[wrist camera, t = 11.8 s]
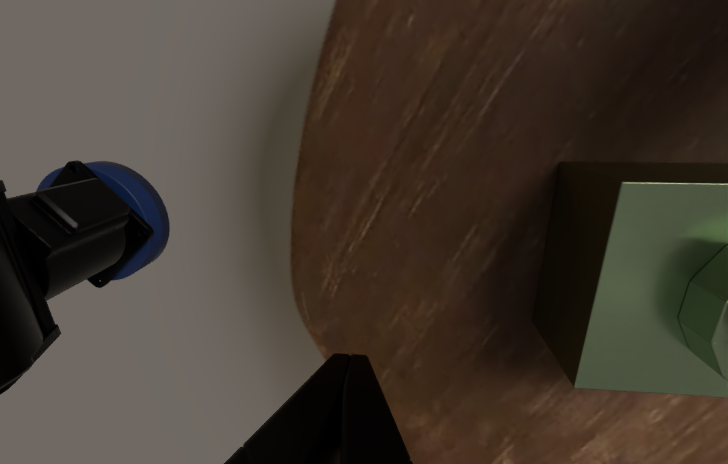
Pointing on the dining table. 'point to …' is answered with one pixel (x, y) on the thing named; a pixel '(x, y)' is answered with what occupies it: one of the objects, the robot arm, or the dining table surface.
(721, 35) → the dining table surface
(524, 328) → the dining table surface
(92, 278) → the robot arm
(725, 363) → the push button box
